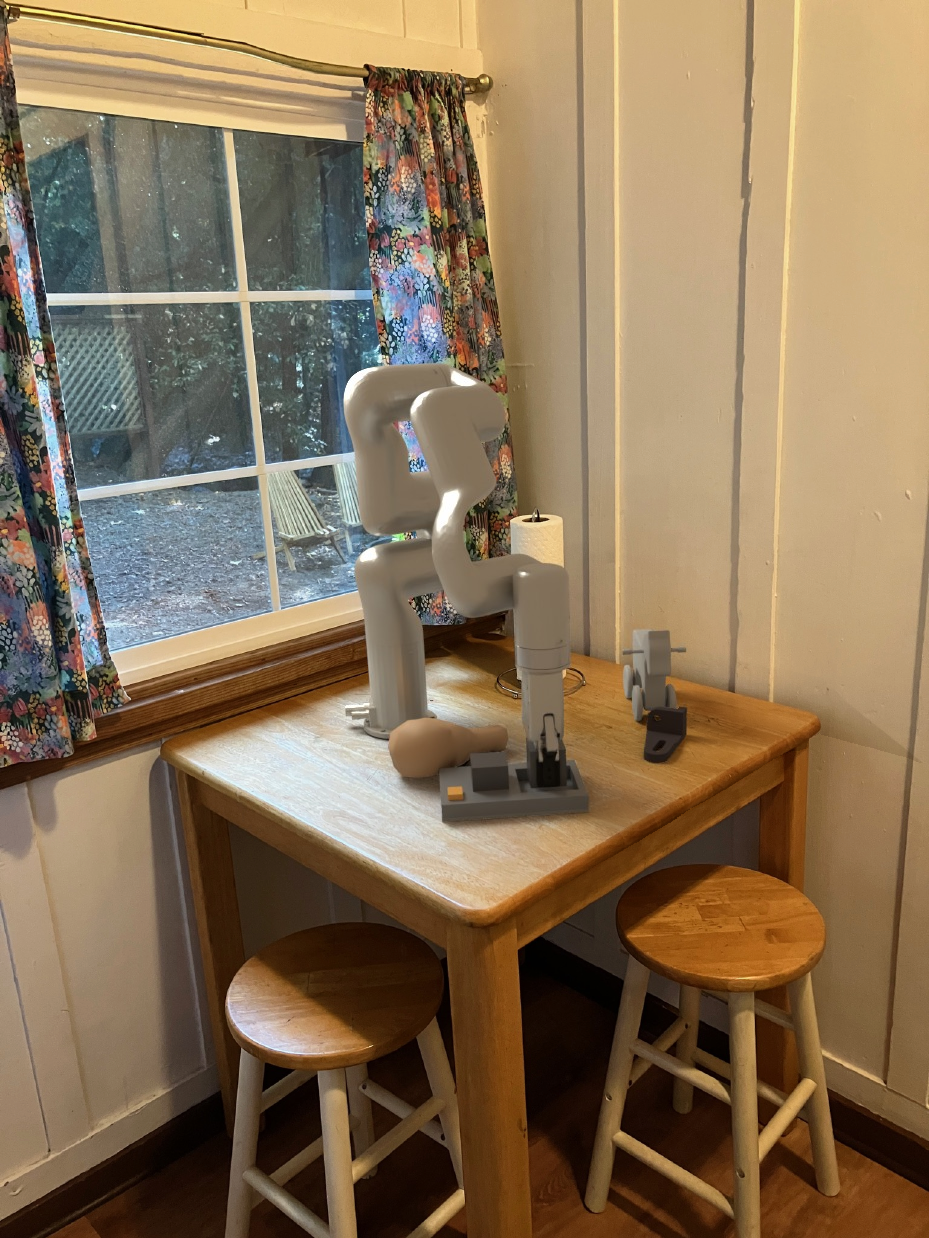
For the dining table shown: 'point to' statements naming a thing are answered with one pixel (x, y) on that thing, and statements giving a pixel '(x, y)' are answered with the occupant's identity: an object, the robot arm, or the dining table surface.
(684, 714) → the bracket
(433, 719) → the squash
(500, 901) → the dining table surface
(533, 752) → the plug
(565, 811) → the grey fixture base
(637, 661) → the pony
